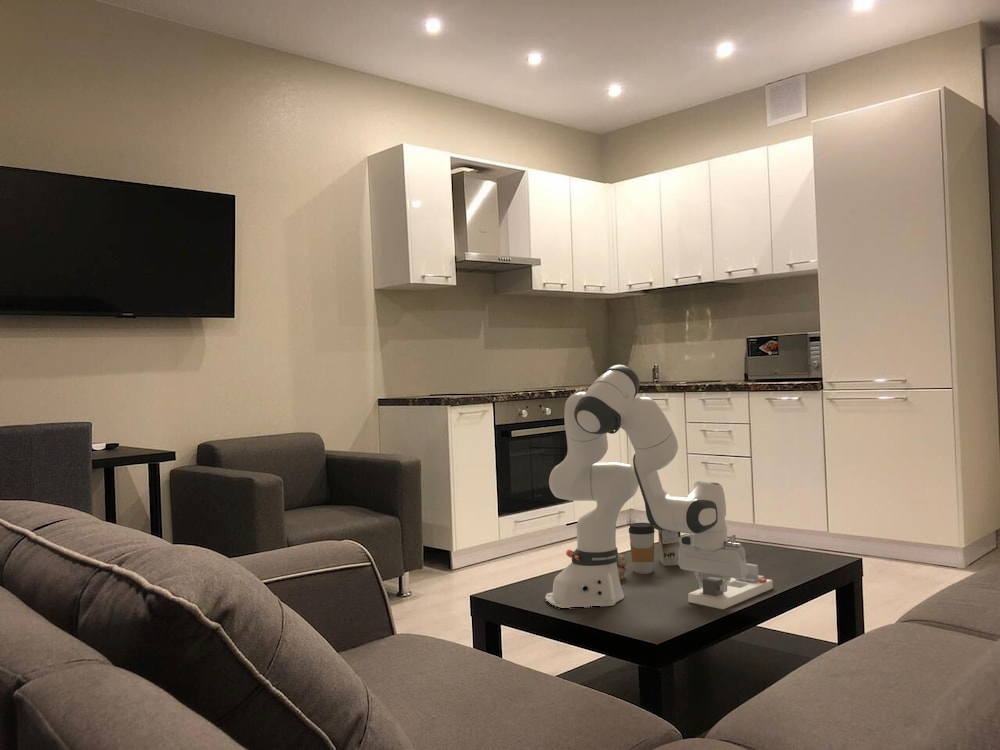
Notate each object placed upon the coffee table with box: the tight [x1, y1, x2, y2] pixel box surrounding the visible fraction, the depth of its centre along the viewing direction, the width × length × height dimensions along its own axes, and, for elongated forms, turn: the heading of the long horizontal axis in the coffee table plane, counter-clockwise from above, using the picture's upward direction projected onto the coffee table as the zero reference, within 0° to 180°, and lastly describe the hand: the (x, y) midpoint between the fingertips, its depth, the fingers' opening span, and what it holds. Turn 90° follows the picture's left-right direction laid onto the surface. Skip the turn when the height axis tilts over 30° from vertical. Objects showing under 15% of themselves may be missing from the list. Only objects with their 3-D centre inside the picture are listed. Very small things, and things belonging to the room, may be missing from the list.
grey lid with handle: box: [735, 563, 765, 582], centre depth 236 cm, size 6×6×4 cm
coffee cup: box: [628, 522, 656, 574], centre depth 261 cm, size 8×8×15 cm
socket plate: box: [687, 577, 774, 610], centre depth 229 cm, size 26×11×3 cm, turn 133°
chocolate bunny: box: [618, 552, 628, 581], centre depth 254 cm, size 6×8×10 cm
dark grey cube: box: [702, 576, 724, 596], centre depth 223 cm, size 4×4×4 cm
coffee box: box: [657, 530, 682, 567], centre depth 271 cm, size 9×6×16 cm
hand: (713, 589), depth 223 cm, fingers open, 5 cm apart
